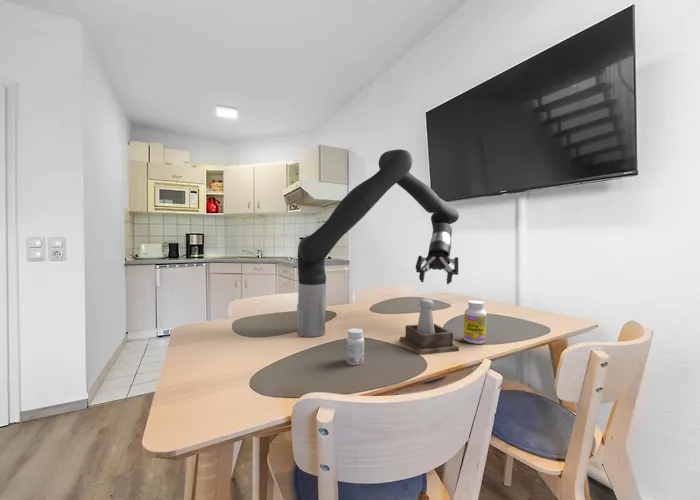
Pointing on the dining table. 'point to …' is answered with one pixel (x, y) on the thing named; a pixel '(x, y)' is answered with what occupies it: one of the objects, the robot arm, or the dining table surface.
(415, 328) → the socket board
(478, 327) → the supplement bottle
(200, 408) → the dining table surface
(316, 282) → the robot arm
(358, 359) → the pill bottle
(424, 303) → the salt shaker
